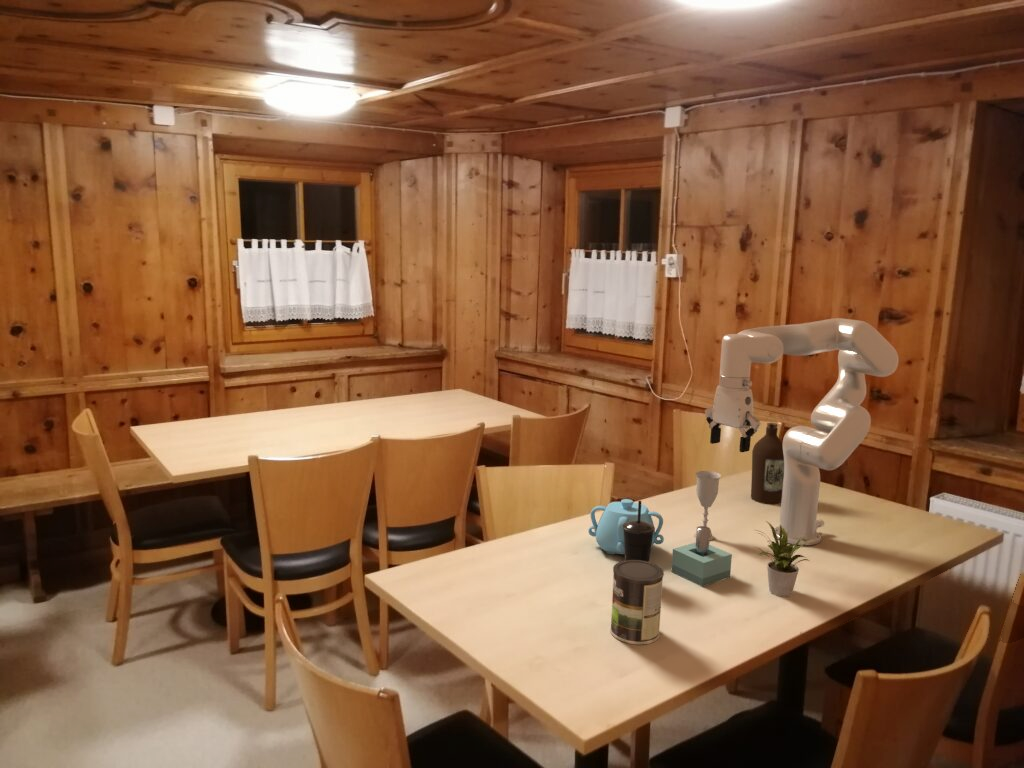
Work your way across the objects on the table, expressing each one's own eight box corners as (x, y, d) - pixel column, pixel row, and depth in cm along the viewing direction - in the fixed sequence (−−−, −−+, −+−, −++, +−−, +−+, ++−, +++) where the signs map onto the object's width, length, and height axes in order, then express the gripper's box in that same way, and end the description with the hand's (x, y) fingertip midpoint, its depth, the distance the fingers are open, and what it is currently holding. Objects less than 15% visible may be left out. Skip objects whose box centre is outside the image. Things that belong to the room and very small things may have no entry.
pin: (700, 563, 195) (702, 525, 193) (710, 567, 193) (713, 529, 191) (691, 566, 193) (693, 527, 192) (701, 570, 191) (703, 531, 189)
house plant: (732, 581, 190) (736, 517, 187) (777, 573, 195) (783, 511, 192) (771, 607, 177) (777, 538, 174) (819, 598, 182) (826, 531, 179)
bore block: (699, 563, 200) (700, 540, 199) (730, 577, 192) (731, 554, 191) (671, 571, 195) (672, 548, 194) (701, 586, 187) (703, 562, 186)
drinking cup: (654, 576, 192) (658, 498, 188) (649, 589, 185) (653, 508, 181) (623, 571, 194) (627, 494, 191) (617, 584, 187) (620, 504, 184)
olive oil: (742, 494, 256) (748, 420, 251) (772, 493, 258) (778, 419, 253) (759, 505, 245) (765, 428, 241) (790, 504, 248) (796, 427, 243)
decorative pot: (612, 565, 198) (615, 514, 196) (583, 542, 213) (585, 494, 210) (667, 556, 204) (670, 507, 202) (635, 534, 219) (637, 488, 216)
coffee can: (616, 645, 159) (619, 580, 156) (605, 621, 169) (608, 559, 166) (666, 644, 160) (669, 579, 157) (652, 620, 170) (656, 559, 167)
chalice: (717, 542, 214) (721, 479, 211) (691, 540, 216) (695, 477, 212) (716, 533, 221) (720, 471, 218) (691, 531, 223) (695, 470, 219)
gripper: (771, 386, 196) (766, 452, 199) (717, 376, 210) (713, 438, 213) (751, 389, 192) (746, 457, 195) (698, 378, 206) (694, 441, 209)
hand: (729, 447), depth 204 cm, fingers open, 9 cm apart
